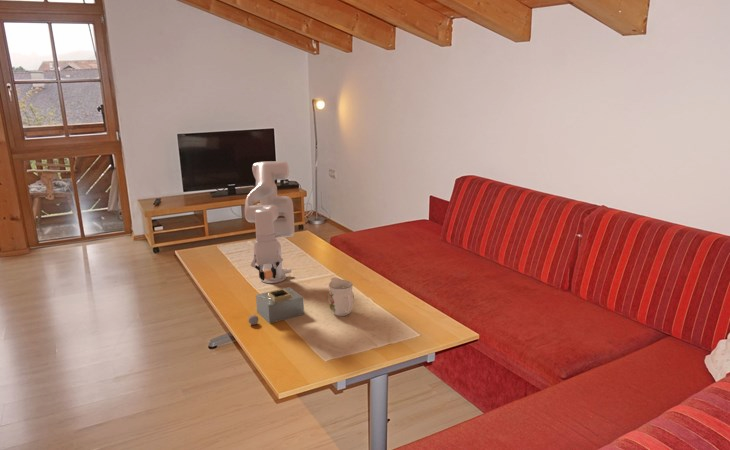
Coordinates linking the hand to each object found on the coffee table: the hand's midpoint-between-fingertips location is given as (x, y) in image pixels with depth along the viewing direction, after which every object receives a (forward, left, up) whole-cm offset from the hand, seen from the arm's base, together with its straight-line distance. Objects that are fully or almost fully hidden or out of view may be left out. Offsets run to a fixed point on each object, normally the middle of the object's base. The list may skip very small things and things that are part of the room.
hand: (267, 277), depth 234 cm
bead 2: (0, 0, -1) cm, 1 cm away
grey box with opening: (-3, +4, -16) cm, 17 cm away
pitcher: (-25, +20, -16) cm, 36 cm away
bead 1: (+9, +8, -13) cm, 18 cm away
